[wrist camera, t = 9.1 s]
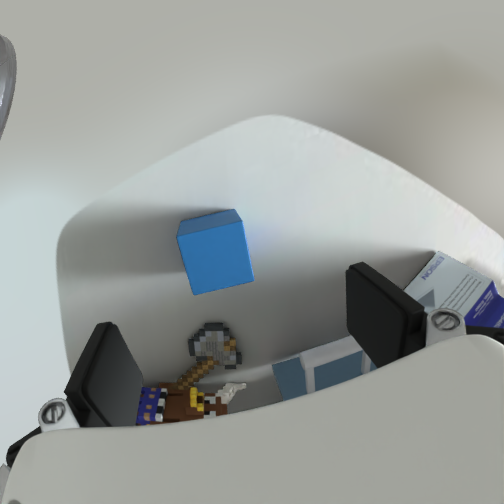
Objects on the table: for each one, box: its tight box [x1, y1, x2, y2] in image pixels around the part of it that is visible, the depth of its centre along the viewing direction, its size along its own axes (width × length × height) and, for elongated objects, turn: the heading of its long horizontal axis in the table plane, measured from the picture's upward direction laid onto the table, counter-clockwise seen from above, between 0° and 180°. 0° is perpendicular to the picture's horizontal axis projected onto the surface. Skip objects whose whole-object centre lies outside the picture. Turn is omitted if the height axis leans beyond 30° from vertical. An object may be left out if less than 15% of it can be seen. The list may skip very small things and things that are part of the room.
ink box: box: [404, 251, 504, 328], centre depth 21 cm, size 12×2×12 cm, turn 133°
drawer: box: [272, 335, 378, 401], centre depth 23 cm, size 16×9×7 cm, turn 11°
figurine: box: [135, 323, 246, 426], centre depth 21 cm, size 8×10×12 cm
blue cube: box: [176, 209, 254, 295], centre depth 19 cm, size 4×4×4 cm
